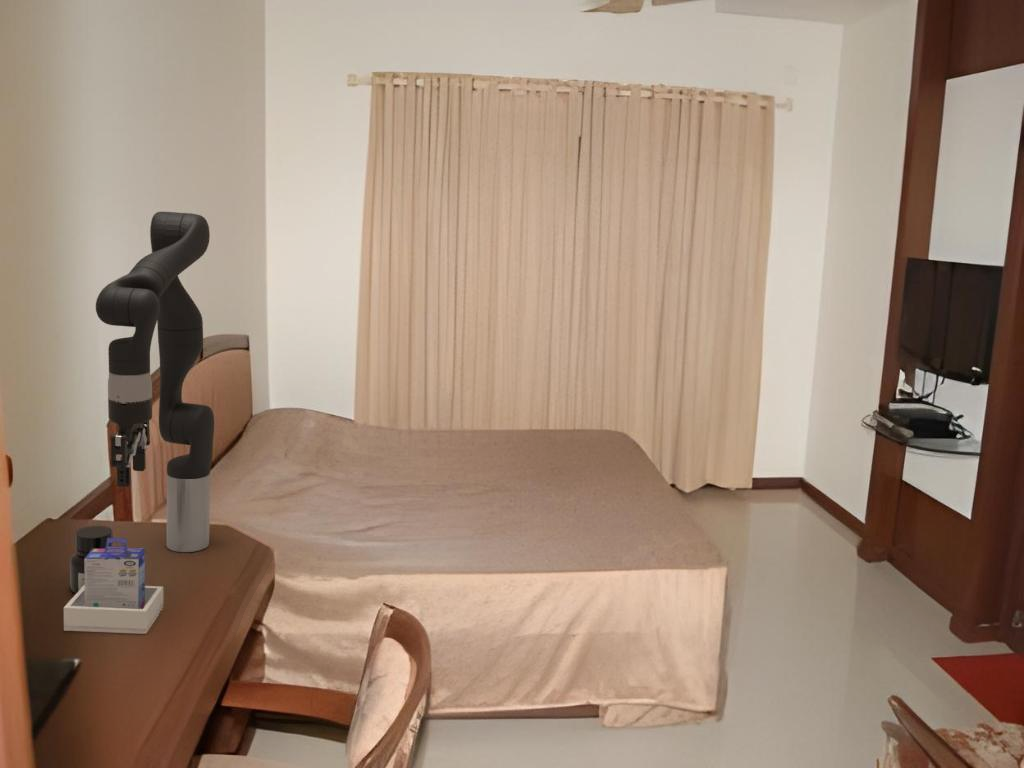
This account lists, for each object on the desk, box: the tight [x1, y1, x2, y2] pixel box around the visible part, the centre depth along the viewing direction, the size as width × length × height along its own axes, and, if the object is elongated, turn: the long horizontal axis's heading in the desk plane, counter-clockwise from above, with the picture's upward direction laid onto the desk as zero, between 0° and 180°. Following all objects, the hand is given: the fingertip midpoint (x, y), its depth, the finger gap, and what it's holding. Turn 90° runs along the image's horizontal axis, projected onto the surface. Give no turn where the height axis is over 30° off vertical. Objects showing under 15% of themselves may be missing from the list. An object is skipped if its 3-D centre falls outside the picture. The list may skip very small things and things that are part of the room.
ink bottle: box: [69, 525, 114, 594], centre depth 184 cm, size 10×9×12 cm
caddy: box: [63, 585, 164, 635], centre depth 173 cm, size 11×15×4 cm
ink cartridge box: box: [84, 537, 146, 609], centre depth 172 cm, size 10×6×14 cm, turn 100°
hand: (131, 478), depth 173 cm, fingers open, 8 cm apart
